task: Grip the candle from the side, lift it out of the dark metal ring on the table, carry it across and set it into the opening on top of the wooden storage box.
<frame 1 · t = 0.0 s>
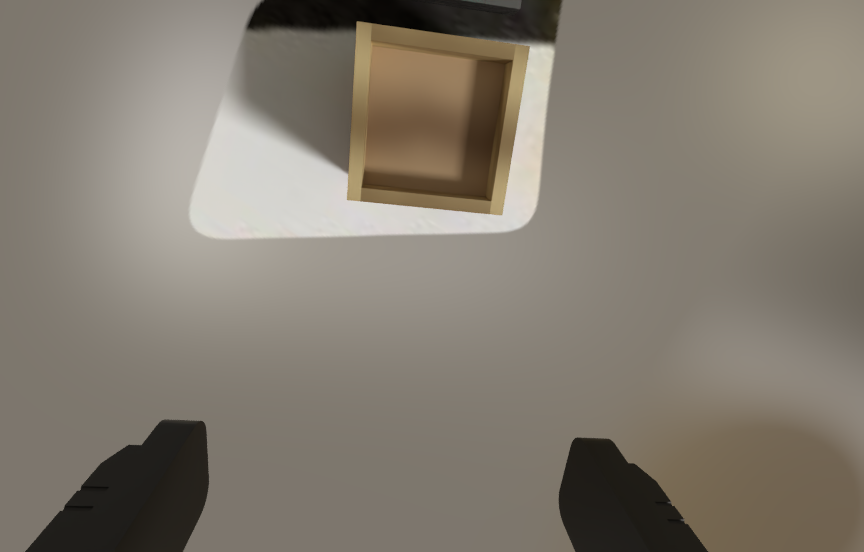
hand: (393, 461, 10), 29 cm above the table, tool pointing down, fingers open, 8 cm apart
wooden storage box: (423, 125, 35), on the table
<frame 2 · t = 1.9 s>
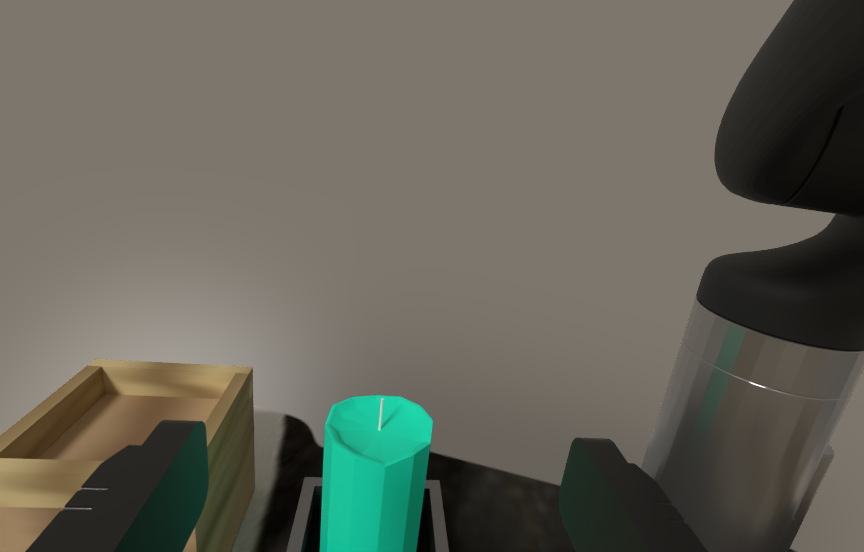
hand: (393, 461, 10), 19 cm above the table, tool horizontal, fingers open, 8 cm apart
wooden storage box: (151, 545, 28), on the table
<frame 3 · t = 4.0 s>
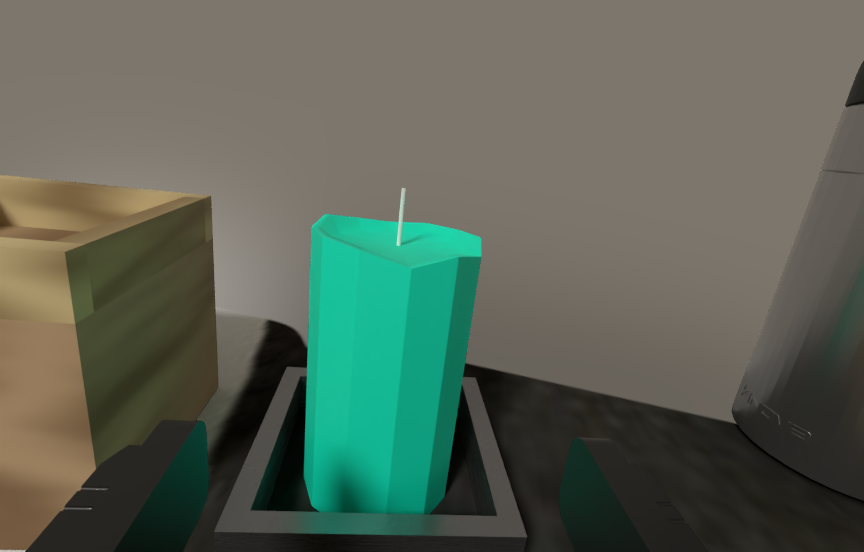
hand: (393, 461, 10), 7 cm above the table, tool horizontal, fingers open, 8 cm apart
candle: (376, 477, 19), resting in table ring
wooden storage box: (53, 444, 18), on the table
table ring: (377, 472, 19), on the table
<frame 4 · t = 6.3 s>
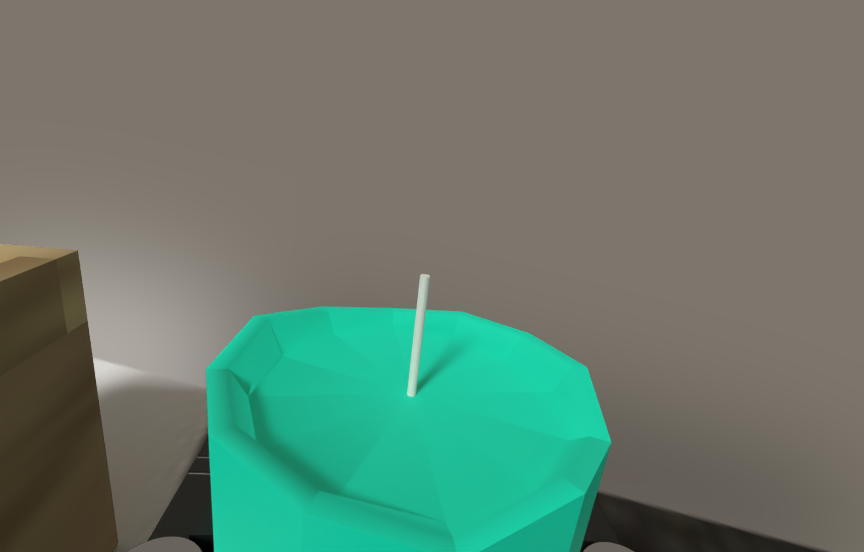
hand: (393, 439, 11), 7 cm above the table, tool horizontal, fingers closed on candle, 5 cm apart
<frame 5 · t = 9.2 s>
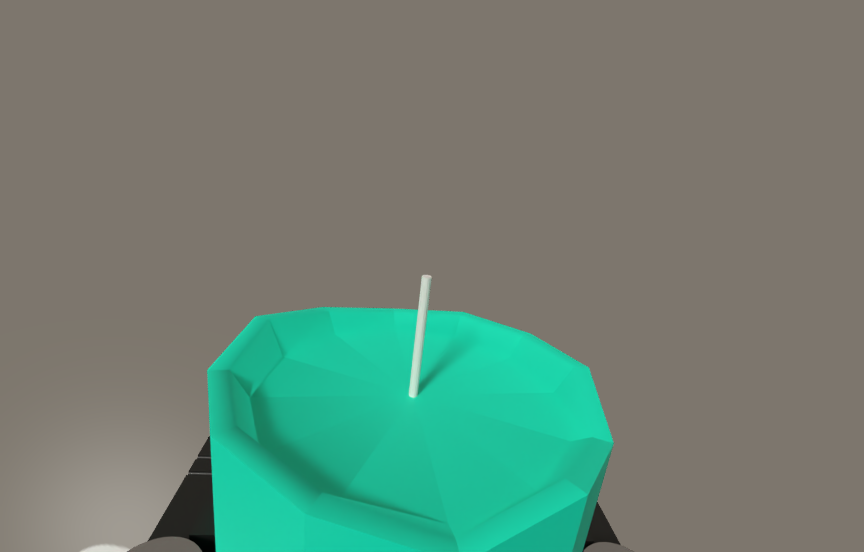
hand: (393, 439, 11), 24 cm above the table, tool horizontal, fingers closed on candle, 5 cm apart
when the fingers open (16 cm above the table, at t = 12.3 s): candle stays where it is, resting on wooden storage box.
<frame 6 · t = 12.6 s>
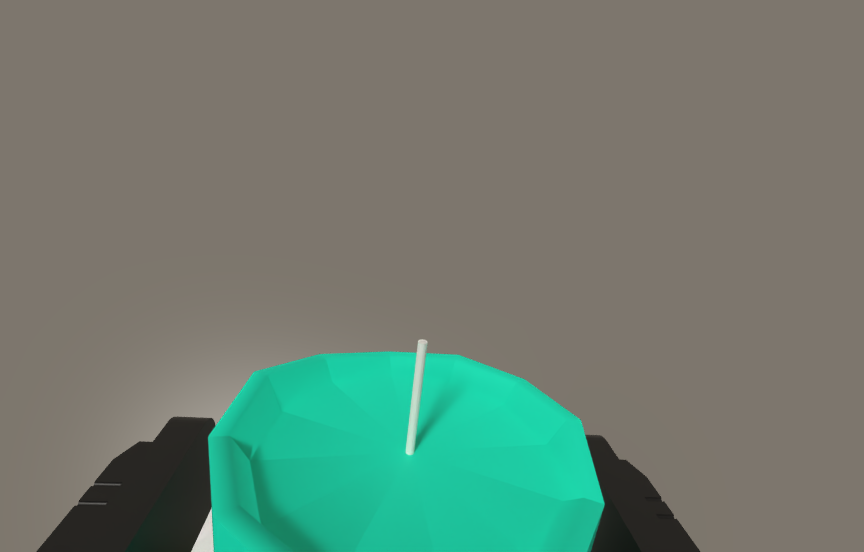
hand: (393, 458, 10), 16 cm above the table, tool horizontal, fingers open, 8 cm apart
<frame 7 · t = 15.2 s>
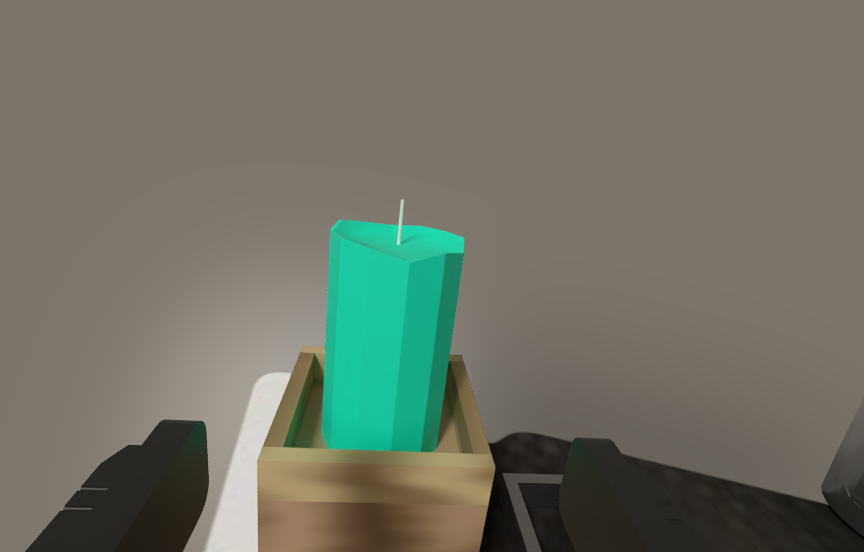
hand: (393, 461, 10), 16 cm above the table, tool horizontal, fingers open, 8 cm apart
candle: (380, 434, 23), point 8 cm above the table, touching wooden storage box
wooden storage box: (368, 545, 26), on the table
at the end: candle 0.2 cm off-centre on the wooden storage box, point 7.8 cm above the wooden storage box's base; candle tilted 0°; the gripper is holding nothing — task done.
